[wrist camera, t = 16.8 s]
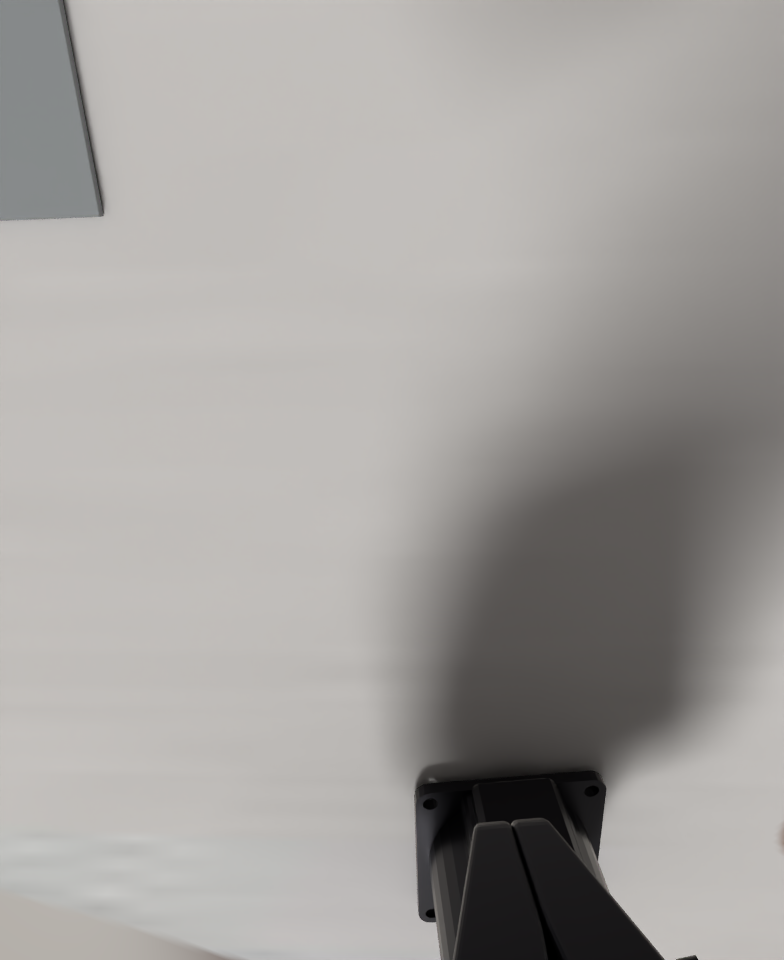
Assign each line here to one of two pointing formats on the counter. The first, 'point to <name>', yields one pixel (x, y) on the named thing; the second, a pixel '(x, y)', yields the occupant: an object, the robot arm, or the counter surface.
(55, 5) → the mat
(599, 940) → the robot arm
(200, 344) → the counter surface
